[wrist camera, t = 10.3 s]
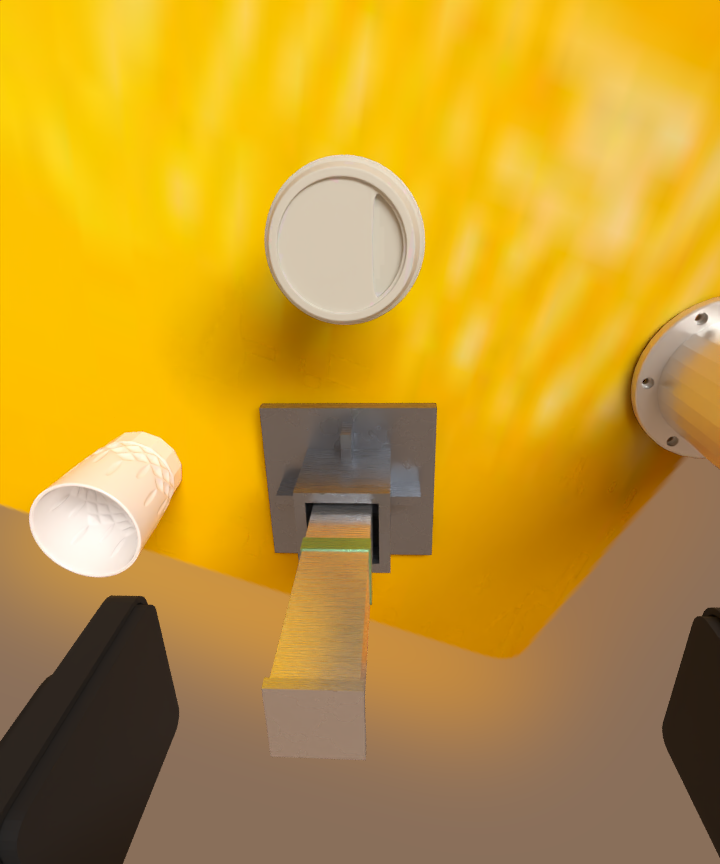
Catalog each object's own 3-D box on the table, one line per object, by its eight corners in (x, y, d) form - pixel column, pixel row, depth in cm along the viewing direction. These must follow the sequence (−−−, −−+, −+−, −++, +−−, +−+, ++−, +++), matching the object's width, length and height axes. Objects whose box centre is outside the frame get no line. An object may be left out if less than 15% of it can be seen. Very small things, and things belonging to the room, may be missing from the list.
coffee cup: (375, 314, 40) (368, 361, 29) (274, 251, 39) (228, 276, 28) (441, 209, 37) (461, 218, 26) (334, 136, 36) (308, 113, 25)
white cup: (150, 408, 45) (87, 464, 36) (207, 481, 47) (163, 551, 38) (80, 450, 47) (5, 513, 38) (139, 517, 49) (82, 592, 40)
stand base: (435, 403, 43) (444, 446, 36) (430, 548, 49) (437, 611, 41) (262, 403, 44) (236, 446, 37) (277, 545, 50) (257, 607, 42)
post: (374, 500, 39) (363, 691, 24) (375, 553, 41) (365, 760, 26) (311, 500, 39) (261, 688, 24) (314, 552, 41) (270, 756, 26)
